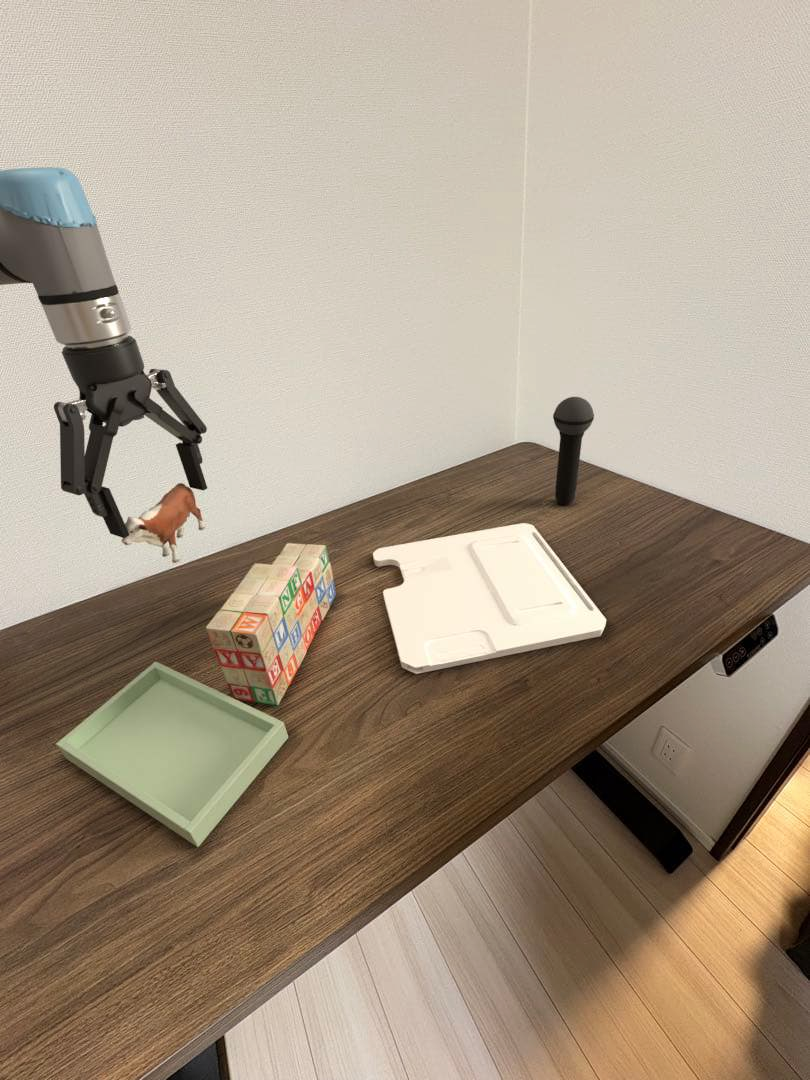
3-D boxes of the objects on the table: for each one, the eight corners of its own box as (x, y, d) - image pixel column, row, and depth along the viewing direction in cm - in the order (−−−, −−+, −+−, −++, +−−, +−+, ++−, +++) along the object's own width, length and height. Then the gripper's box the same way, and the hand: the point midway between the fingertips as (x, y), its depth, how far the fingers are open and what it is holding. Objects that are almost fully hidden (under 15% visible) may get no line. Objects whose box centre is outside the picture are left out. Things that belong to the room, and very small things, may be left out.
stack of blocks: (299, 591, 83) (283, 524, 76) (337, 594, 81) (324, 527, 74) (232, 700, 66) (203, 626, 59) (278, 707, 64) (254, 632, 57)
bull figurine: (134, 578, 69) (107, 526, 64) (190, 521, 79) (170, 472, 75) (163, 580, 68) (137, 527, 63) (216, 521, 78) (197, 473, 73)
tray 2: (404, 676, 66) (403, 668, 66) (372, 553, 90) (371, 546, 89) (611, 633, 70) (612, 625, 69) (528, 526, 93) (529, 518, 92)
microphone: (540, 506, 98) (548, 401, 87) (554, 491, 103) (563, 389, 92) (575, 514, 95) (588, 407, 84) (588, 498, 99) (602, 394, 88)
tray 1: (65, 758, 60) (55, 743, 59) (162, 675, 70) (155, 661, 68) (198, 847, 51) (189, 832, 49) (288, 737, 60) (284, 722, 59)
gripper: (2, 375, 48) (97, 567, 60) (204, 317, 65) (246, 474, 77) (-40, 369, 51) (57, 552, 63) (163, 315, 68) (209, 466, 80)
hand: (161, 509), depth 70 cm, fingers closed on bull figurine, 12 cm apart
